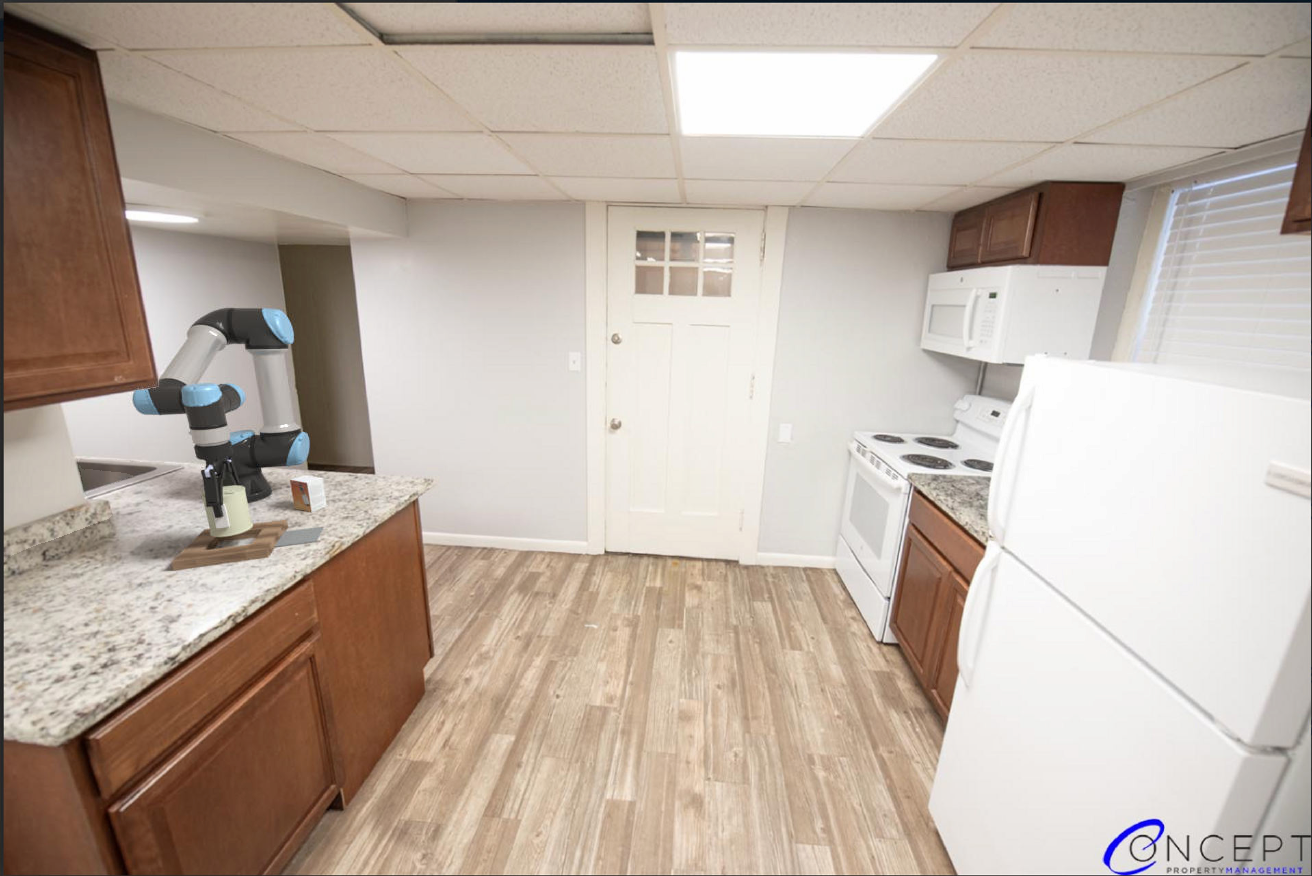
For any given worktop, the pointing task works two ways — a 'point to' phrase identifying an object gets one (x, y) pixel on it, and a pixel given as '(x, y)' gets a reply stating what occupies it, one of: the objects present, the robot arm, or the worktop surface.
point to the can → (231, 512)
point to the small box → (308, 493)
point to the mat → (299, 536)
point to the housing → (206, 555)
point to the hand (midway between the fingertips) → (229, 519)
